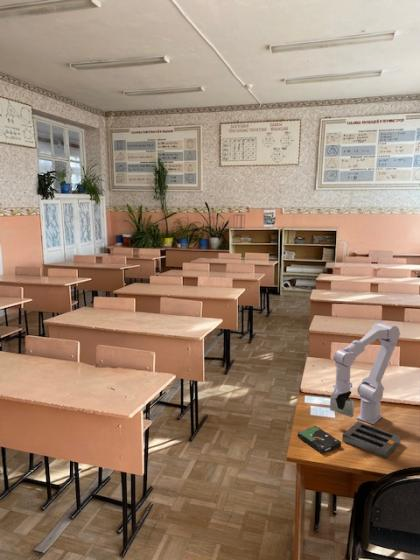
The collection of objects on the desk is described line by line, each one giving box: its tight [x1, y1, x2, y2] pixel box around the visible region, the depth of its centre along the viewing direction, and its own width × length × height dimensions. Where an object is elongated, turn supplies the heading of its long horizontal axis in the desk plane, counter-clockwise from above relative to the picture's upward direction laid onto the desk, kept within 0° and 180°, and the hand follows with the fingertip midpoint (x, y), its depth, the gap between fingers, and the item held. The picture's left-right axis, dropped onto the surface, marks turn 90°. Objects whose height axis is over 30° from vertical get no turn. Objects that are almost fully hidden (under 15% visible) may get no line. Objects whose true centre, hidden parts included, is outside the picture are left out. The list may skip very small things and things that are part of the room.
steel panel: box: [329, 393, 355, 418], centre depth 183 cm, size 2×10×7 cm, turn 46°
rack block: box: [341, 421, 402, 459], centre depth 173 cm, size 14×18×3 cm
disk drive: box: [297, 425, 342, 455], centre depth 174 cm, size 10×3×15 cm
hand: (341, 407), depth 184 cm, fingers closed on steel panel, 2 cm apart
